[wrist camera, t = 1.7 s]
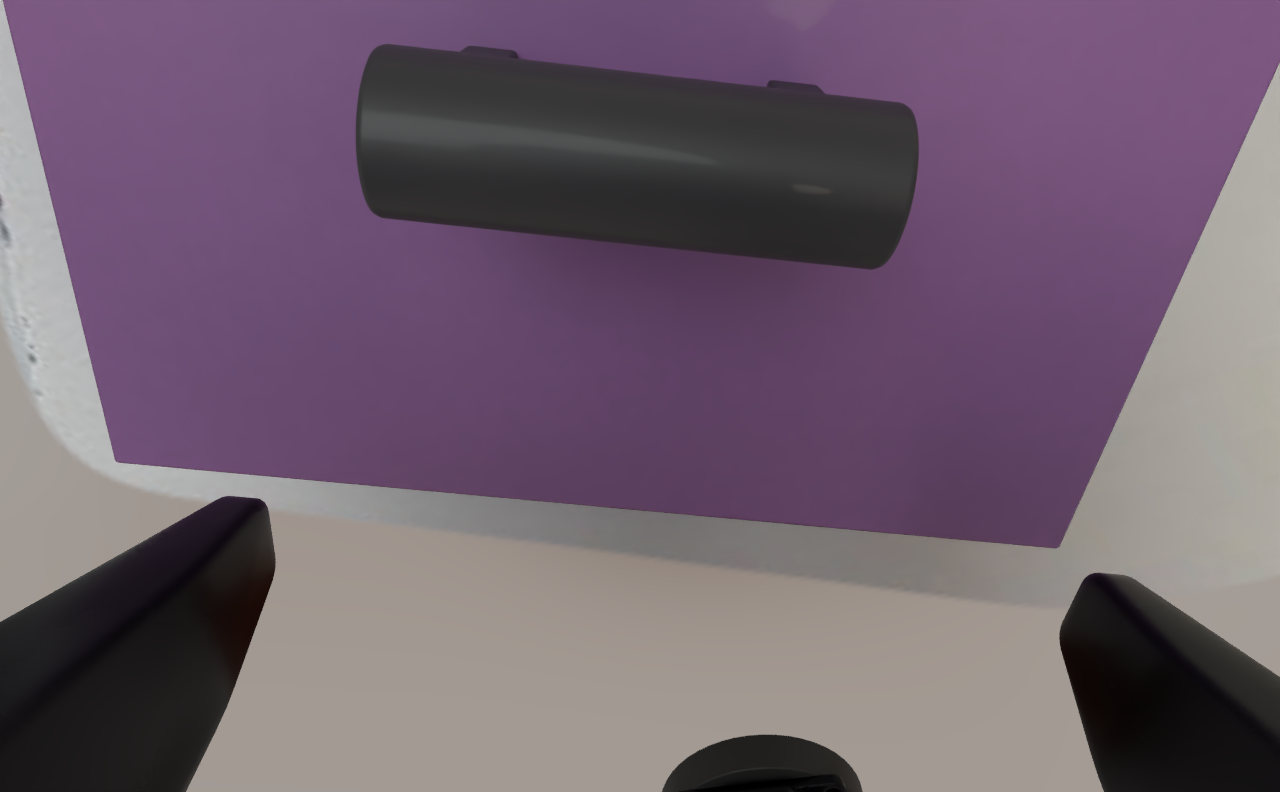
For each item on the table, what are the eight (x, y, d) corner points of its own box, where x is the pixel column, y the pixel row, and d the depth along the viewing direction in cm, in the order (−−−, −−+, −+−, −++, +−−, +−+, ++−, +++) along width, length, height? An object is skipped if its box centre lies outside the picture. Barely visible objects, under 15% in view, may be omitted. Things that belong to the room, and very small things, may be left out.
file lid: (1045, 529, 16) (1196, 765, 11) (132, 444, 15) (-78, 661, 11) (1535, -587, 9) (2444, -1097, 4) (-166, -854, 8) (-1182, -1807, 3)
